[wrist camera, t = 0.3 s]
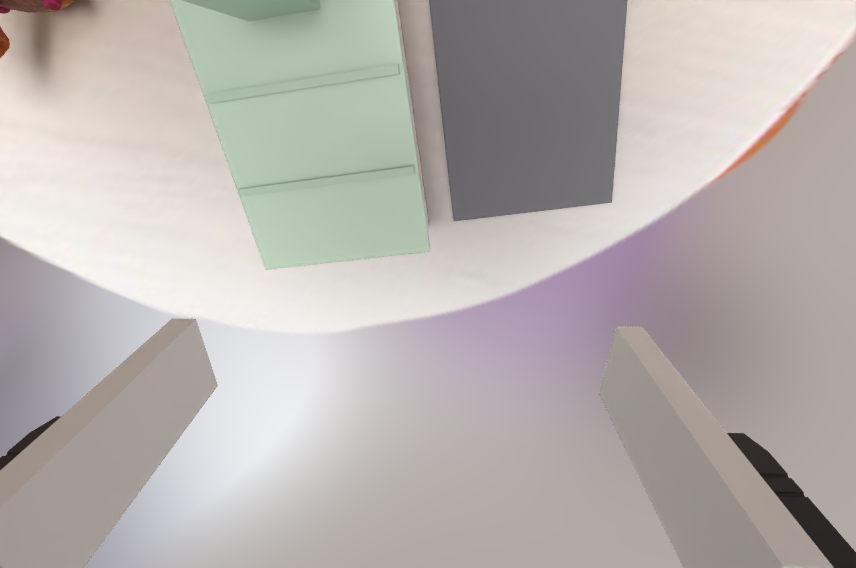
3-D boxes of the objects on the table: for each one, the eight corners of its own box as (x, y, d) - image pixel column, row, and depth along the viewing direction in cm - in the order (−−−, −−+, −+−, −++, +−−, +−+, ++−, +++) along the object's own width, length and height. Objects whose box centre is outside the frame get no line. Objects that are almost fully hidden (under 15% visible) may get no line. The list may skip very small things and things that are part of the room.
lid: (171, -15, 26) (37, -63, 17) (386, -56, 25) (356, -129, 16) (269, 265, 35) (213, 324, 27) (430, 247, 34) (425, 303, 25)
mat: (426, -31, 30) (425, -33, 30) (630, -68, 28) (632, -70, 28) (453, 219, 39) (453, 221, 38) (610, 201, 37) (611, 202, 37)
